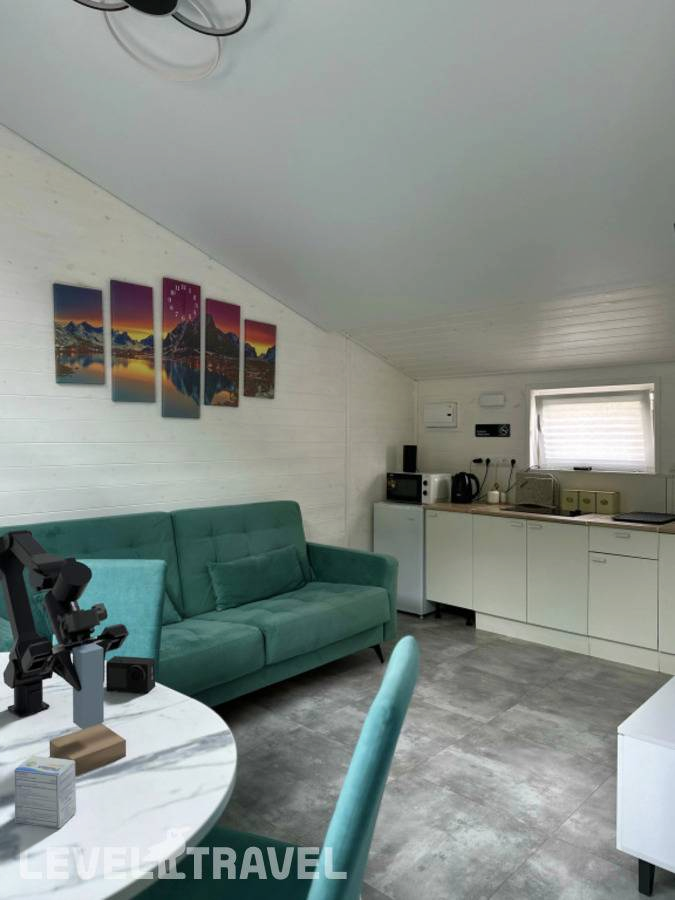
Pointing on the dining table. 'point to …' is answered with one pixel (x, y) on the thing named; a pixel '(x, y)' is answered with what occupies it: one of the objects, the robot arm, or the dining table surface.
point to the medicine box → (45, 791)
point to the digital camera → (130, 674)
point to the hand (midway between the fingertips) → (91, 686)
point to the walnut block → (89, 747)
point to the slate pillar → (88, 686)
